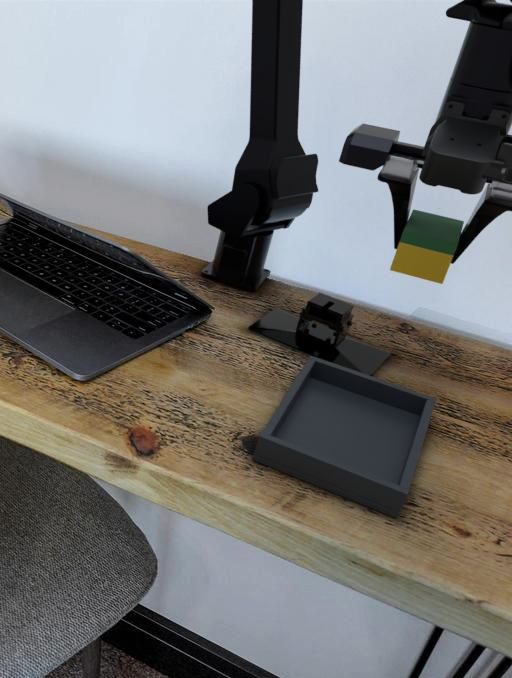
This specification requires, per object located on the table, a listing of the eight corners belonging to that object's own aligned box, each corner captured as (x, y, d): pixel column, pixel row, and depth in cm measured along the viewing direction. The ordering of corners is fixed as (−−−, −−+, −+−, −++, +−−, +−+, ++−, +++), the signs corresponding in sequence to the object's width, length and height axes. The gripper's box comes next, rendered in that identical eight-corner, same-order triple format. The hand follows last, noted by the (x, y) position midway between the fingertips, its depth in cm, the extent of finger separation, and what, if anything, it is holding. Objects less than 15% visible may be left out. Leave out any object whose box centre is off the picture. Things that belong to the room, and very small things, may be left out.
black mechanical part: (246, 331, 84) (257, 290, 82) (276, 310, 89) (287, 271, 87) (366, 380, 78) (381, 337, 75) (391, 354, 83) (406, 313, 80)
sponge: (399, 247, 81) (413, 209, 79) (449, 260, 79) (464, 221, 77) (389, 270, 75) (403, 229, 73) (442, 284, 73) (458, 243, 71)
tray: (302, 376, 77) (310, 355, 76) (427, 420, 72) (436, 398, 71) (251, 460, 65) (259, 435, 64) (396, 519, 60) (408, 494, 59)
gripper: (355, 77, 66) (303, 254, 74) (624, 125, 59) (535, 317, 66) (376, 60, 75) (328, 220, 83) (613, 100, 67) (535, 272, 75)
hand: (423, 255), depth 76 cm, fingers closed on sponge, 4 cm apart
